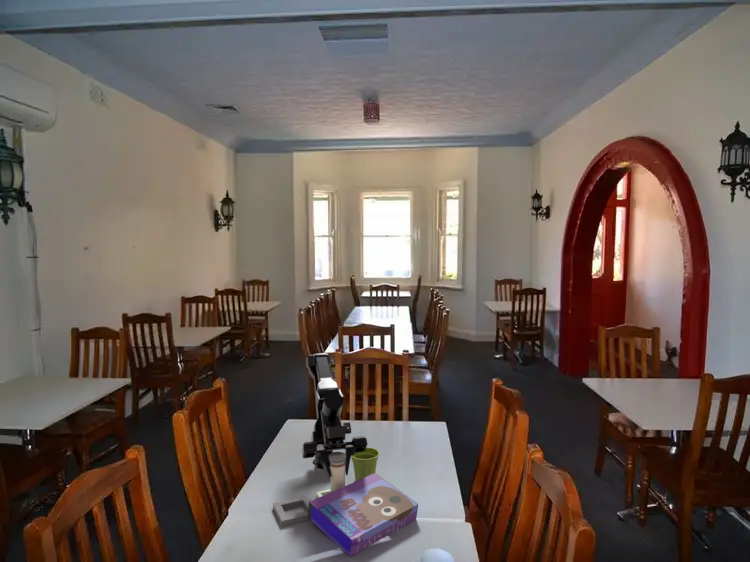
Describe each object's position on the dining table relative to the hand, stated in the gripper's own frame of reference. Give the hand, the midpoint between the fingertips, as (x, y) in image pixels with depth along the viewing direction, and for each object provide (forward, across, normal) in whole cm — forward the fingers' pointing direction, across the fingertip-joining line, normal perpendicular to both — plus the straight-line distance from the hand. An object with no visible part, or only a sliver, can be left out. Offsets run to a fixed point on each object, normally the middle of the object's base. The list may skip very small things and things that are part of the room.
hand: (338, 476), depth 150 cm
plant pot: (-4, +11, +17) cm, 20 cm away
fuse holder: (+8, -13, +5) cm, 16 cm away
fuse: (+4, 0, +6) cm, 8 cm away
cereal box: (+7, +16, +1) cm, 17 cm away
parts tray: (+6, 0, +7) cm, 9 cm away
